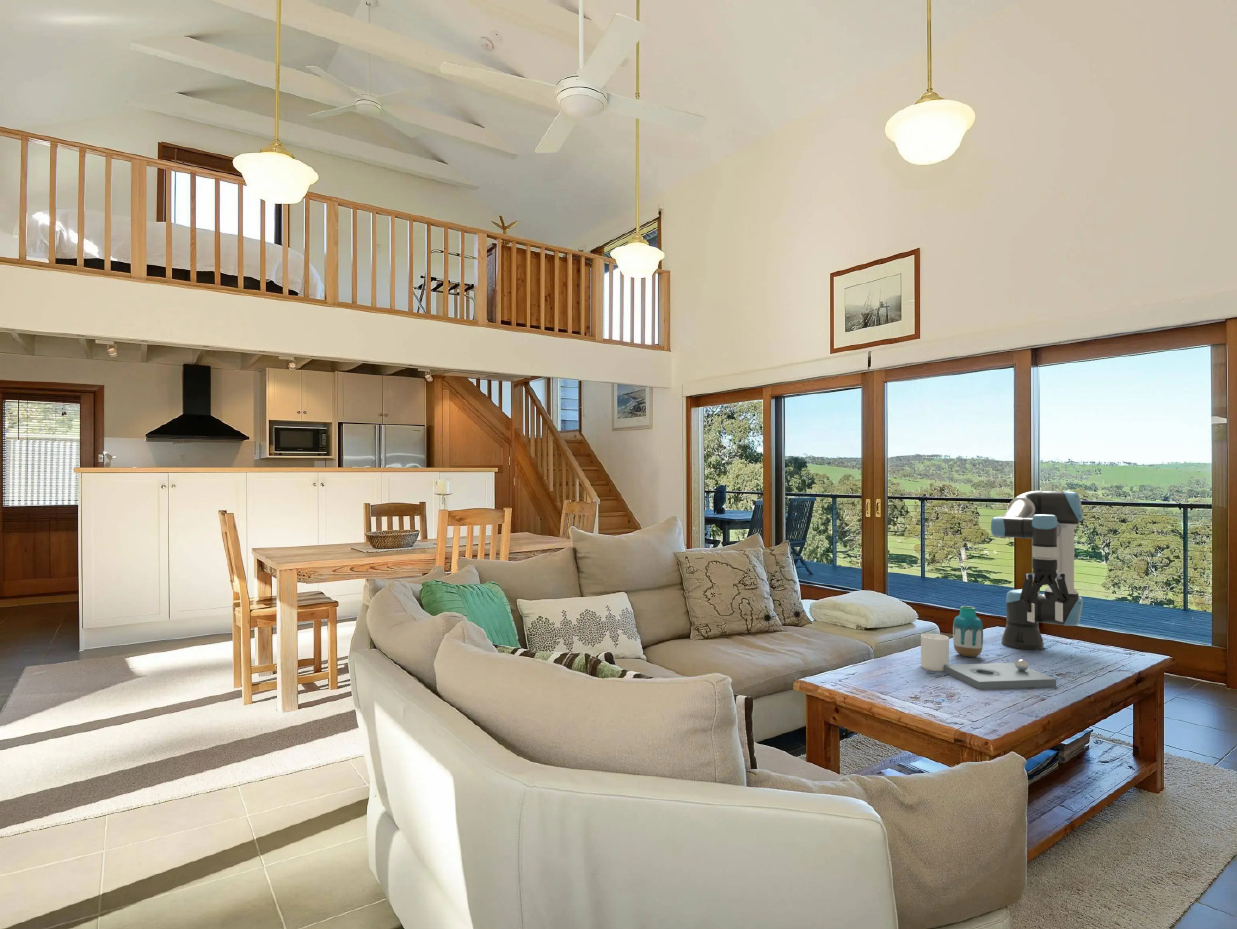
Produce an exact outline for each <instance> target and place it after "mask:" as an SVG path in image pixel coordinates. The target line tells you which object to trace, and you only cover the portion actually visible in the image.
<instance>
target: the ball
mask: <svg viewBox="0 0 1237 929" xmlns="http://www.w3.org/2000/svg"><path fill="white" fill-rule="evenodd" d="M1014 663H1015V666H1016V668H1017V669H1018V670H1020V671H1026V670H1027V669H1028V668H1029V663H1028V662H1027V661H1026V660H1025V659H1021V658H1020V659H1017V660H1016V661H1015V662H1014Z"/></svg>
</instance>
